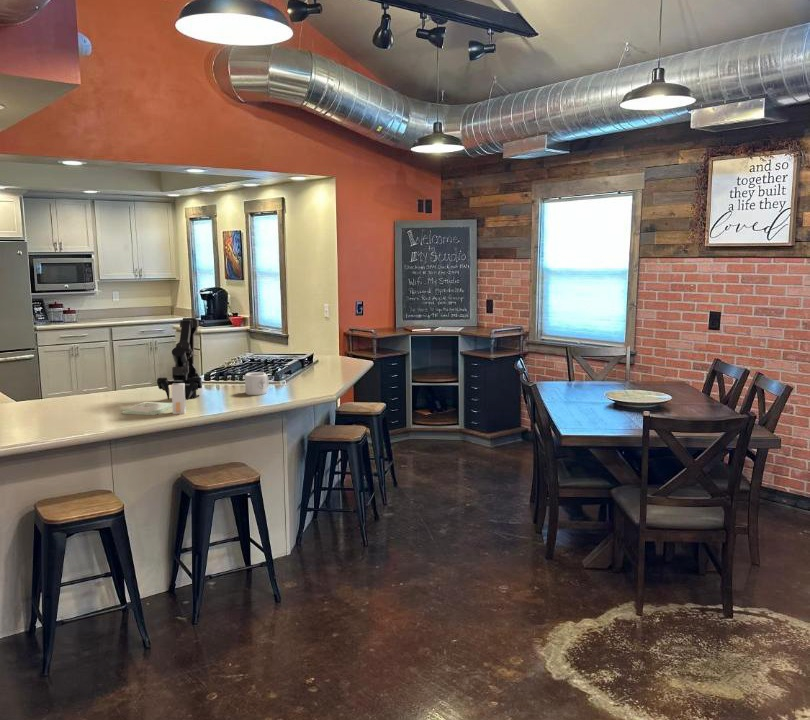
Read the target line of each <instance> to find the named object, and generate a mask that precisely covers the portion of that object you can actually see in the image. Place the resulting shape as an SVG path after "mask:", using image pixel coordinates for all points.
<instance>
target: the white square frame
mask: <svg viewBox="0 0 810 720" xmlns="http://www.w3.org/2000/svg"><path fill="white" fill-rule="evenodd" d="M151 402H152V401H143V402H140V403H137V404H134V405H131V406H130V408H131V411H139V412H152V411H155V410H158V409H161V408H163V404H162V403H163V402H158V403H151Z"/></svg>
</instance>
